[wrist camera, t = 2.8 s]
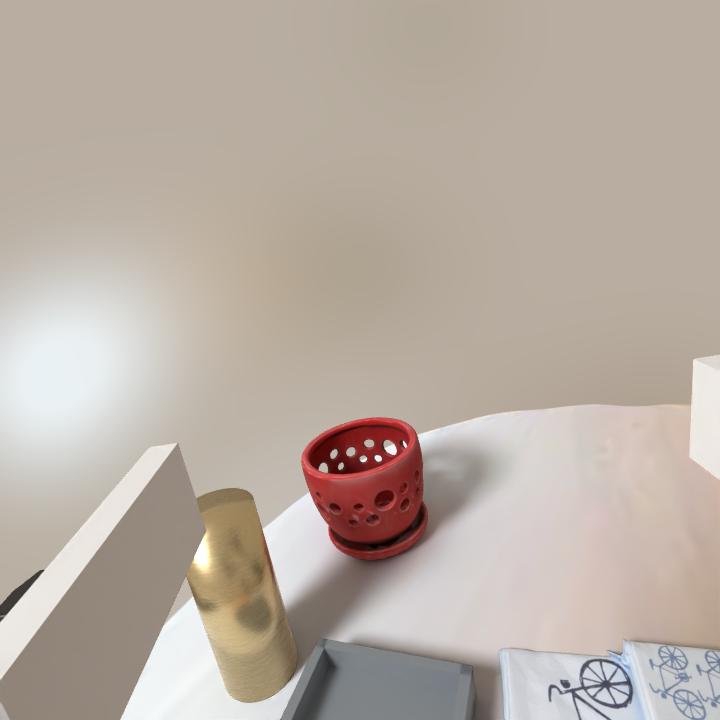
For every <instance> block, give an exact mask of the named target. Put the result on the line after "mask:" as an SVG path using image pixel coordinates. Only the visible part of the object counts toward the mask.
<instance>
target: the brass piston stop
mask: <svg viewBox="0 0 720 720" xmlns="http://www.w3.org/2000/svg"><path fill="white" fill-rule="evenodd" d="M196 500H197V503H198V506H199V509H200V513H201V516H202V519H203V522H204V525H205V528H206V533H205V536H204V538H203V540H202V542H201V544H200V546H199V549H198V551H197V553H196V555H195V557H194V560H193V562H192V564H191V566H190V568H189V570H188V573H187V575H186V577H187V580H188V583H189V585H190V588H191V591H192V593H193V597H194V599H195V602H196V605H197V608H198V611H199V614H200V616H201V619H202V622H203V625H204V628H205V630H206V633H207V636H208V639H209V642H210V644H211V647H212V650H213V653H214V656H215V659H216V661H217V664H218V667H219V670H220V673H221V675H222V678H223V681H224V684H225V687H226V689H227V691H228V693H229V694H230V696H232V697H233V698H234V699H236V700H238V701H241V702H245V703H252V702H258V701H262V700H265V699H267V698H269V697H271V696H273V695H274V694H276V693H277V692H278V691H280V690H281V689H282V688H283V687H284V686H285V685H286V684H287V683H288V681H289V680H290V679H291V677H292V675H293V673H294V671H295V669H296V665H297V660H298V655H297V650H296V646H295V643H294V639H293V636H292V632H291V629H290V625H289V622H288V618H287V615H286V611H285V607H284V604H283V600H282V597H281V593H280V590H279V586H278V583H277V579H276V576H275V572H274V569H273V565H272V562H271V558H270V555H269V551H268V548H267V544H266V541H265V537H264V534H263V530H262V526H261V523H260V520H259V516H258V512H257V509H256V506H255V502H254V498H253V496H252V494H250V493H249V492H248V491H246V490H243V489H237V488H228V489H221V490H217V491H213V492H210V493H207V494H205V495H202V496H200V497H198V498H196Z"/></svg>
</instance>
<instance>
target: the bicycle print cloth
mask: <svg viewBox="0 0 720 720" xmlns="http://www.w3.org/2000/svg"><path fill="white" fill-rule="evenodd" d="M623 644H624V645H623V654H621V656H620V655H618V654H615V653H612V652H610V651H608V650H606V652H607V653H609V654H610V656H608V657H607V656H592V655H578V654H567V653H553V652H536V651H531V650H526V649H514V648H507V649H501V650H500V651H499V653H498V657H499V663H500V671H501V680H502V692H503V711H504V720H720V650H712V649H704V648H693V647H682V646H673V645H665V644H657V643H641V642H634V641H627V640H625V639H623Z"/></svg>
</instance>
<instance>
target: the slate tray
mask: <svg viewBox="0 0 720 720" xmlns="http://www.w3.org/2000/svg"><path fill="white" fill-rule="evenodd" d="M475 703H476V689H475V681H474V674H473V667H472V666H470V665H464V664H459V663H453V662H448V661H443V660H437V659H432V658H426V657H421V656H415V655H410V654H404V653H399V652H393V651H388V650H382V649H377V648H372V647H366V646H361V645H355V644H350V643H344V642H339V641H333V640H328V639H322V638H319V639H318V641H317V643H316V646H315V648H314V650H313V652H312V654H311V656H310V658H309V660H308V662H307V665H306V667H305V669H304V671H303V673H302V675H301V677H300V679H299V681H298V684H297V686H296V688H295V690H294V692H293V694H292V696H291V698H290V700H289V703H288V705H287V707H286V709H285V711H284V713H283V715H282V717H281V719H280V720H473V719H474V711H475Z"/></svg>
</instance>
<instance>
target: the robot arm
mask: <svg viewBox="0 0 720 720" xmlns="http://www.w3.org/2000/svg"><path fill="white" fill-rule="evenodd" d="M689 457H690V458H691V459H693V460H694V461H695V462H697V463H698V464H699V465H700V466H702V467H703V468H704V469H706V470H707V471H708V472H710V473H711V474H712V475H714V476H715V477H716V478H718V479H719V480H720V355H716V356H710V357H703V358H697V359H694V361H693V384H692V406H691V429H690V452H689ZM205 533H206V528H205V525H204V522H203V519H202V516H201V513H200V509H199V506H198V503H197V500H196V497H195V494H194V491H193V488H192V485H191V482H190V479H189V476H188V472H187V470H186V466H185V463H184V460H183V457H182V454H181V451H180V448H179V445H178V443H175V444H168V445H162V446H156V447H150V448H149V449H148V450H147V451H146V452H145V453H144V454H143V456H142V457H141V458H140V459H139V460H138V461H137V463H136V464H135V465H134V466H133V467H132V468H131V470H130V471H129V472H128V473H127V475H126V476H125V477H124V478H123V479H122V480H121V481H120V483H119V484H118V485H117V486H116V487H115V488H114V490H113V491H112V492H111V493H110V494H109V495H108V497H107V498H106V499H105V500H104V501H103V503H102V504H101V505H100V506H99V507H98V508H97V510H96V511H95V512H94V513H93V514H92V515H91V517H90V518H89V519H88V520H87V521H86V522H85V524H84V525H83V526H82V527H81V528H80V530H79V531H78V532H77V533H76V534H75V535H74V537H73V538H72V539H71V540H70V541H69V542H68V544H67V545H66V546H65V547H64V548H63V550H62V551H61V552H60V553H59V554H58V555H57V557H56V558H55V559H54V560H53V561H52V562H51V564H50V565H49V566H48V567H47V568H46V569H45V570H40V571H39V572H37V573H36V574H35V575H34V576H32V577H31V578H30V579H28V580H27V581H26V582H25V583H24V584H22V585H21V586H19V587H18V588H17V589H15V590H14V591H13V592H12V593H11V594H10V595H9V596H8V597H7V599H6V600H5V601H4V602H3V603H2V604H1V605H0V720H120V719H121V717H122V714H123V712H124V710H125V708H126V706H127V703H128V701H129V699H130V697H131V695H132V693H133V690H134V688H135V686H136V684H137V682H138V679H139V677H140V675H141V673H142V671H143V669H144V666H145V664H146V662H147V660H148V658H149V655H150V653H151V651H152V649H153V647H154V645H155V642H156V640H157V638H158V636H159V634H160V631H161V629H162V627H163V625H164V623H165V620H166V618H167V616H168V614H169V612H170V610H171V607H172V605H173V603H174V601H175V599H176V597H177V594H178V592H179V590H180V588H181V585H182V583H183V581H184V579H185V577H186V575H187V573H188V570H189V568H190V566H191V564H192V562H193V560H194V557H195V555H196V553H197V551H198V549H199V546H200V544H201V542H202V540H203V538H204V536H205Z"/></svg>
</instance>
